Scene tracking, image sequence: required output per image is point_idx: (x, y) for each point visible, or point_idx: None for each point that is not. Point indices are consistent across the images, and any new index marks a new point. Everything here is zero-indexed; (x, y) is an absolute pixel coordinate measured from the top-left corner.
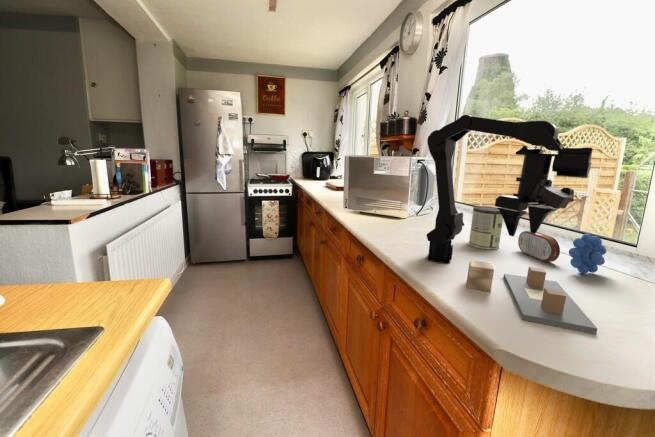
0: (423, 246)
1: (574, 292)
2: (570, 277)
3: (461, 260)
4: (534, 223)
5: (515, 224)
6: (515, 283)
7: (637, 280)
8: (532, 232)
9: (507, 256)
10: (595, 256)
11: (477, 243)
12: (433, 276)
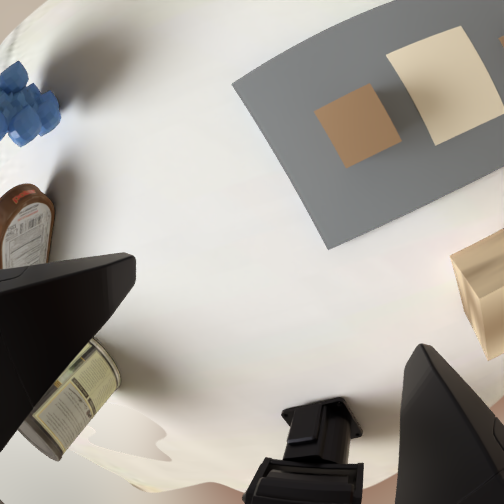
0: (249, 458)
1: (245, 30)
2: (108, 102)
3: (272, 383)
4: (77, 312)
5: (496, 419)
6: (409, 183)
7: (23, 35)
8: (133, 274)
9: None
10: (16, 75)
11: (111, 379)
12: (479, 376)
